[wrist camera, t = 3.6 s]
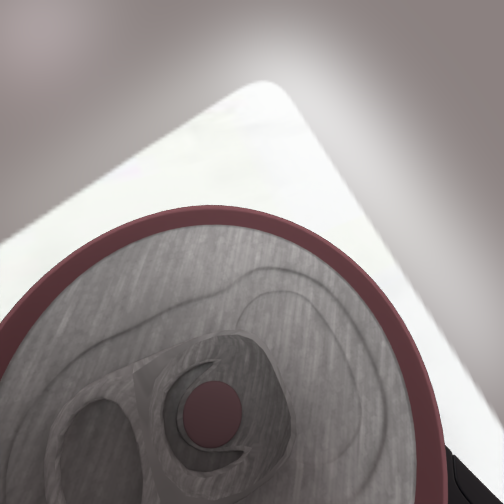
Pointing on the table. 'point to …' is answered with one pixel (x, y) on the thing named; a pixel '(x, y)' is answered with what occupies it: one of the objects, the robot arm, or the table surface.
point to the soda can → (214, 373)
